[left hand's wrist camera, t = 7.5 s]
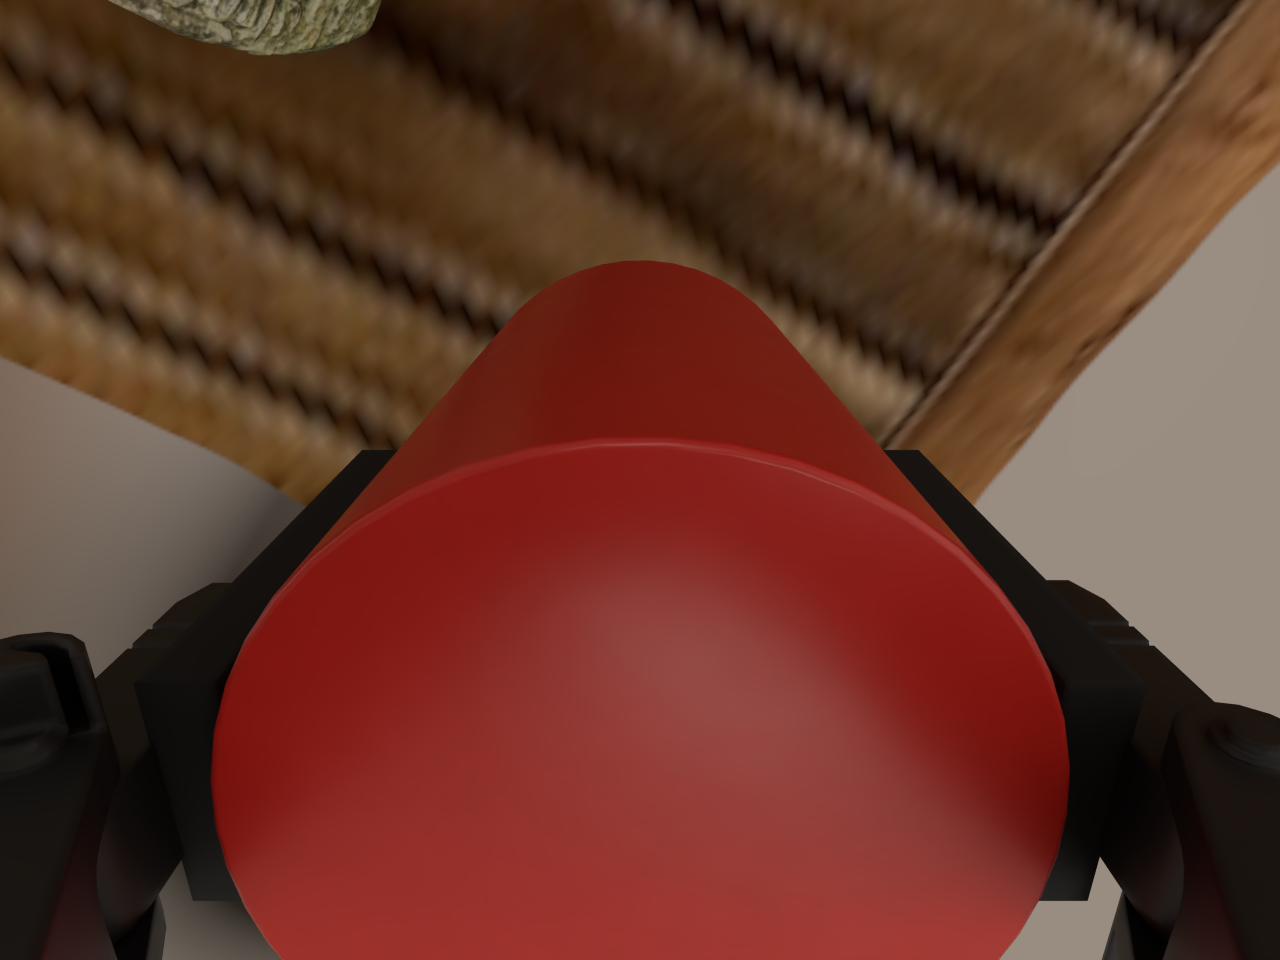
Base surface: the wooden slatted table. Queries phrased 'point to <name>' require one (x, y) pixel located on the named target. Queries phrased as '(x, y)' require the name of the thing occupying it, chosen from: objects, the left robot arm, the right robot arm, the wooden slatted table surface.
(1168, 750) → the left robot arm
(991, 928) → the tin
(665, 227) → the wooden slatted table surface
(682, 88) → the wooden slatted table surface
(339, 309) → the wooden slatted table surface
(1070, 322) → the wooden slatted table surface
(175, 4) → the fossil
